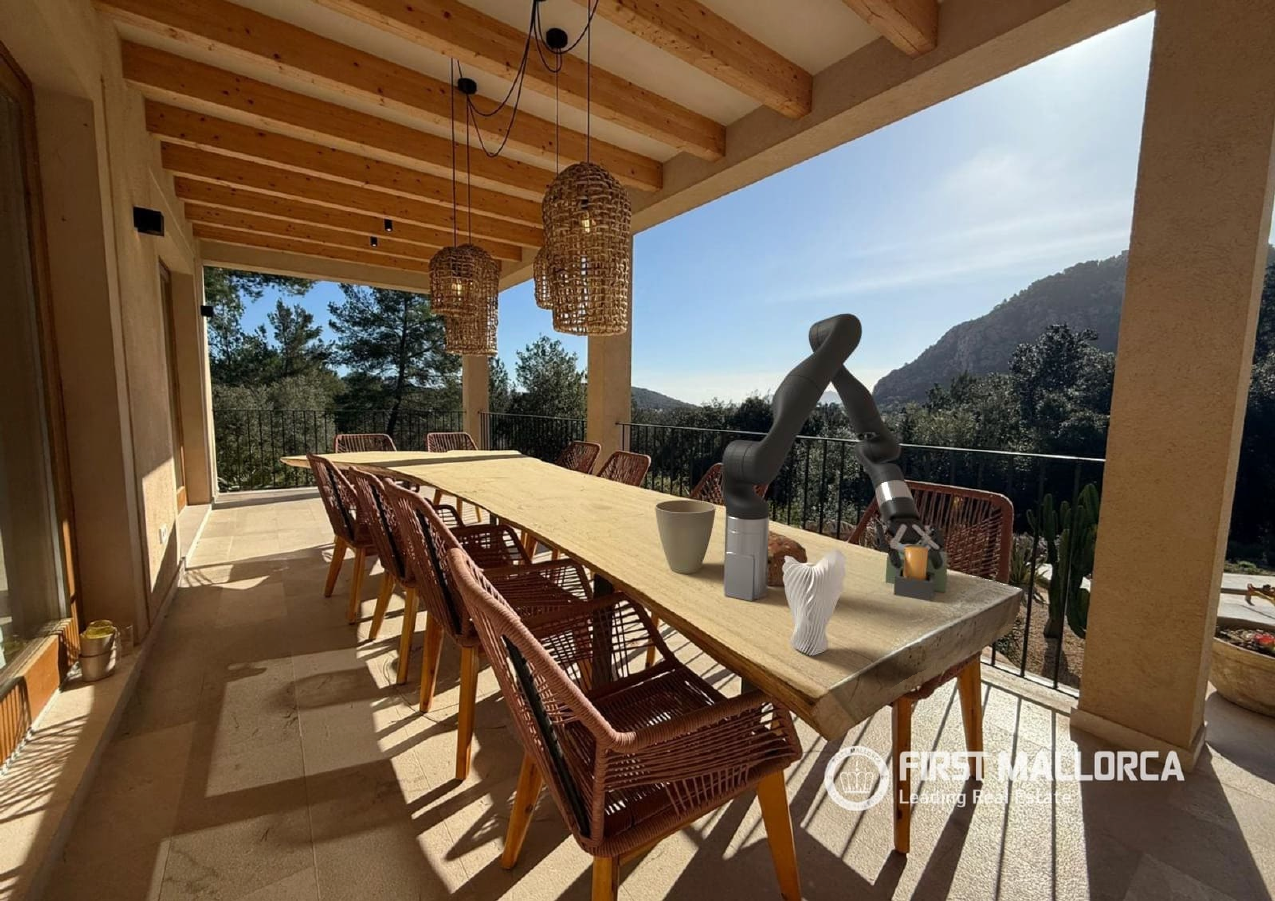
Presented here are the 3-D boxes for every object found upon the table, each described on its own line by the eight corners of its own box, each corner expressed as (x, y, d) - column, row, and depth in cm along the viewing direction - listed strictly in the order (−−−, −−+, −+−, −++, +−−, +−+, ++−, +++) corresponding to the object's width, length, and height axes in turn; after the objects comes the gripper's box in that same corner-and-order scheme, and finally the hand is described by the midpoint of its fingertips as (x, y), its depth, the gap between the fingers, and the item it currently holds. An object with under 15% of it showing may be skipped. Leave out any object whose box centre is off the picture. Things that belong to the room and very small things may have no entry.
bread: (807, 584, 120) (809, 542, 119) (765, 588, 117) (767, 545, 116) (766, 559, 138) (768, 522, 137) (729, 562, 135) (730, 524, 134)
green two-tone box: (945, 603, 109) (948, 566, 108) (882, 592, 115) (884, 557, 114) (945, 576, 126) (947, 543, 125) (890, 567, 132) (892, 536, 131)
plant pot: (680, 555, 140) (681, 497, 138) (726, 568, 130) (728, 505, 128) (641, 568, 130) (642, 505, 128) (688, 584, 119) (690, 515, 118)
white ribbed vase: (773, 646, 90) (777, 544, 88) (805, 635, 94) (810, 538, 92) (812, 668, 83) (817, 558, 81) (845, 655, 87) (851, 550, 85)
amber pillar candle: (924, 597, 112) (927, 552, 111) (901, 593, 115) (904, 549, 113) (925, 591, 116) (928, 547, 115) (902, 587, 118) (905, 544, 117)
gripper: (871, 495, 120) (892, 559, 110) (933, 495, 120) (960, 559, 110) (860, 512, 126) (879, 574, 116) (919, 513, 126) (943, 575, 116)
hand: (918, 567), depth 113 cm, fingers open, 8 cm apart
